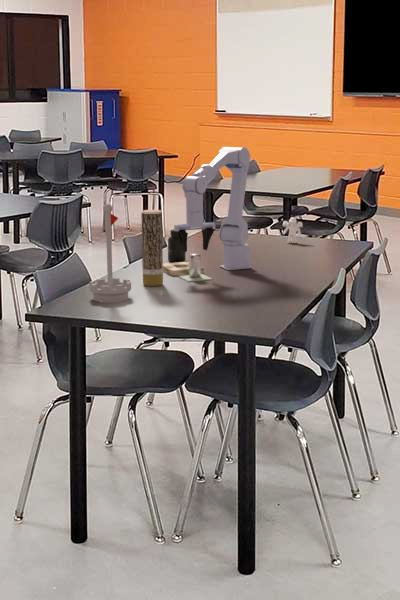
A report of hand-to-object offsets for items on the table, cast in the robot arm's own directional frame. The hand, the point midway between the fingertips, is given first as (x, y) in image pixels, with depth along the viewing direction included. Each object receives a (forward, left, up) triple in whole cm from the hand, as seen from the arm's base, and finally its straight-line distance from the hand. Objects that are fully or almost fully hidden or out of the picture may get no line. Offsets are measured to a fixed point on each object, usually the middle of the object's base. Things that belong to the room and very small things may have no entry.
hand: (195, 250), depth 310 cm
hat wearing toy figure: (-66, -53, -10) cm, 85 cm away
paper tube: (+17, +4, -10) cm, 20 cm away
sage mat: (0, 0, -10) cm, 10 cm away
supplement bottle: (-6, -34, -10) cm, 36 cm away
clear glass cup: (0, 0, -10) cm, 10 cm away
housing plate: (0, -14, -10) cm, 17 cm away
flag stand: (+36, +18, -10) cm, 42 cm away
